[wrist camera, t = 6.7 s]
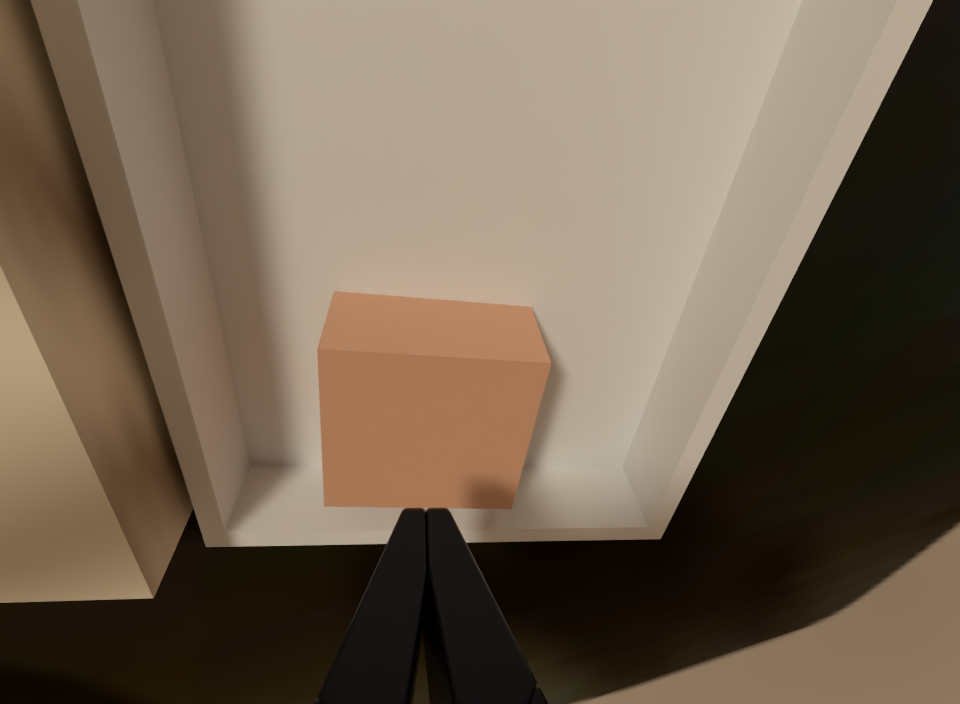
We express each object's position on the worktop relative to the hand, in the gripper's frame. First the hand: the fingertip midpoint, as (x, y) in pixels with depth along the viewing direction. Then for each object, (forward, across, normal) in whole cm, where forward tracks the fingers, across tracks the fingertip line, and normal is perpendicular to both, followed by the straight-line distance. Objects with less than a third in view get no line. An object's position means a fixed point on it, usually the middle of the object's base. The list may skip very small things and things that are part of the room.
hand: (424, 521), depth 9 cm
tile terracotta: (+3, 0, +1) cm, 3 cm away
